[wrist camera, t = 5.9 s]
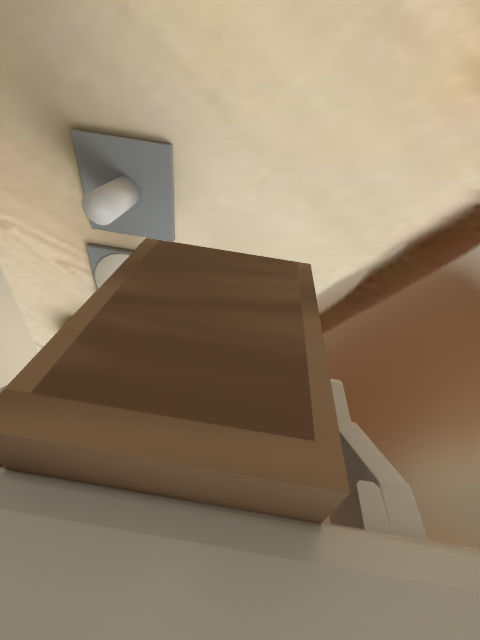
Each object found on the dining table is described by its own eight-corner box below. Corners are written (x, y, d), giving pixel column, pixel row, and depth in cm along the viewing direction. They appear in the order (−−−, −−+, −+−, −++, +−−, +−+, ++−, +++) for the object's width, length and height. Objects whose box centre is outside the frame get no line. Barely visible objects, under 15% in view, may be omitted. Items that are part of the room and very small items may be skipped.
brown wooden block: (146, 237, 11) (-32, 427, 5) (310, 264, 11) (349, 493, 5) (157, 352, 15) (69, 536, 9) (277, 372, 15) (274, 572, 9)
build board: (89, 243, 29) (85, 246, 28) (165, 255, 29) (163, 259, 28) (104, 305, 34) (100, 309, 33) (169, 316, 34) (167, 320, 33)
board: (74, 129, 23) (25, 137, 18) (172, 144, 23) (146, 156, 18) (95, 226, 28) (60, 250, 23) (174, 238, 28) (155, 265, 23)
